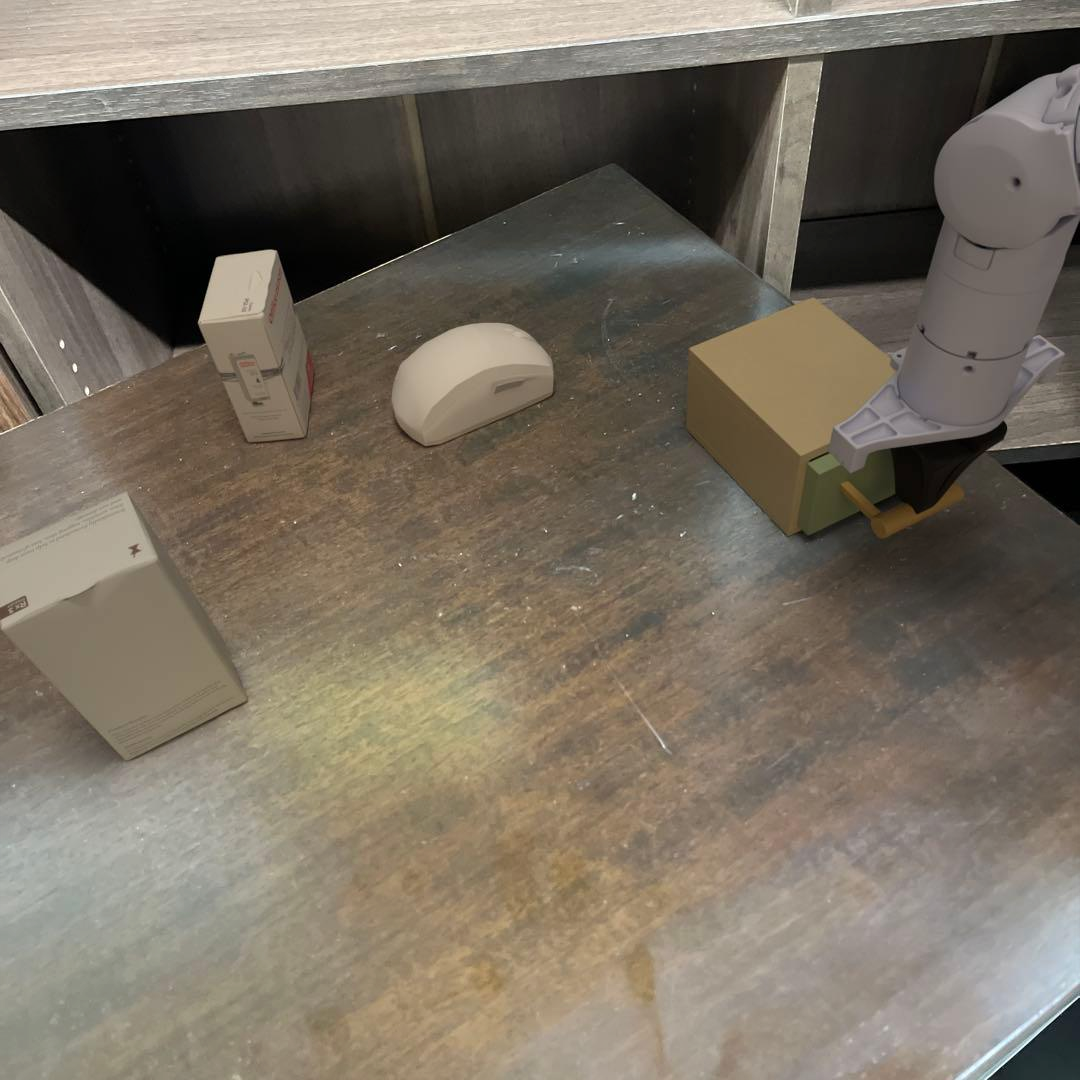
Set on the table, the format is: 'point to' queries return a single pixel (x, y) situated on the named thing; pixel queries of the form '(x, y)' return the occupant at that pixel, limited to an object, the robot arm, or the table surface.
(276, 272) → the ink box
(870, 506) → the drawer
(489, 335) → the computer mouse
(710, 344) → the cabinet
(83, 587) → the cosmetic box
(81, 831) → the table surface
